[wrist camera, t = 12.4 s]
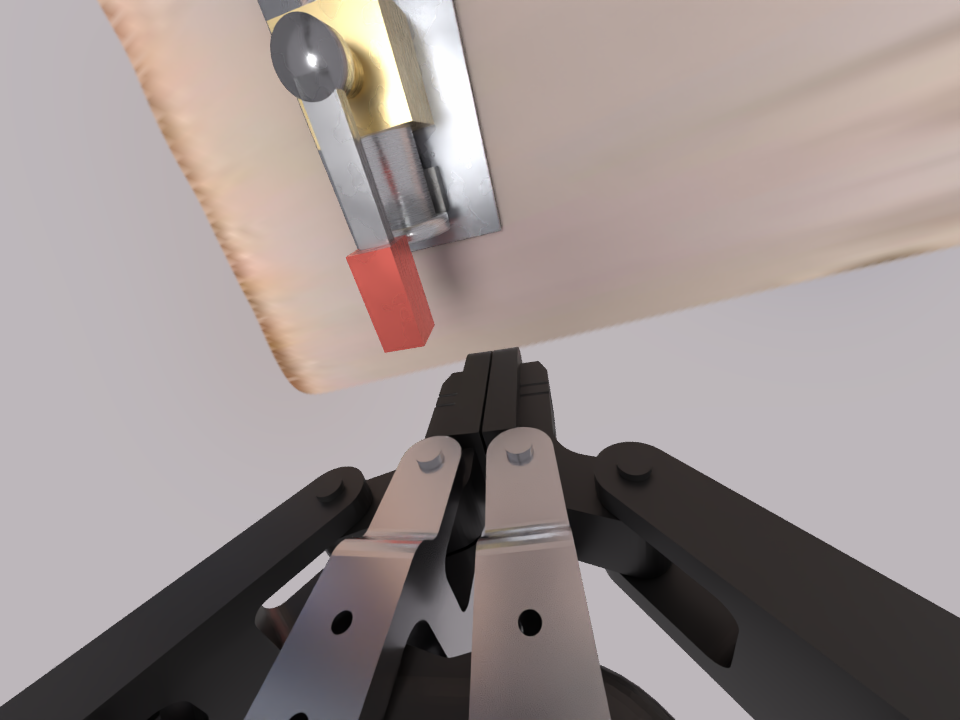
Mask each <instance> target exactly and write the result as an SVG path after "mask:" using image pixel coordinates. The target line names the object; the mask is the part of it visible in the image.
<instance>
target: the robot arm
mask: <svg viewBox="0 0 960 720" xmlns="http://www.w3.org/2000/svg"><path fill="white" fill-rule="evenodd" d="M554 421H555V420H554V411H553V405H552V399H551V393H550V386H549V380H548V374H547V370H546V368H545V367H544V366H543V365H542V364H541V363H540V362H539V361H536V362H529V363H522V360H521V355H520V350H519V347H514V348H508V349H501V350H494V351H488V352H481V353H474V354H468V355H467V358H466V362H465V366H464V370H463V372H457V373H453V374H451V376H450V377H449V378H448V379H447V380H446V381H445V382H444V383H443V385H442V388H441V391H440V394H439V398H438V400H437V403H436V408H435V409H434V412H433V415H432V418H431V421H430V424H429V428H428V430H427V434H426V436H425V439H423V440H421V441H419V442H417V443H416V444H414V445H413V446H412V447H410V448H409V449H408V450H407V451H406V452H405V454H404V455H403V457H402V458H401V461H400V463H399V465H398V467H397V469H396V470H394V471H392V472H389V473H386V474H383V475H380V476H377V477H374V478H372V479H369V480H365V478H364V476H363V474H362V472H361V471H360V470H359V469H357V468H354V467H340V468H337V469H333V470H331V471H328V472H327V473H325V474H323V475H321V476H320V477H318V478H317V479H315V480H314V481H313V482H311V483H310V484H309V485H307V486H306V487H304V488H303V489H302V490H300V491H299V492H297V493H296V494H295V495H293V496H292V497H291V498H289V499H288V500H286V501H285V502H284V503H282V504H281V505H279V506H278V507H277V508H275V509H274V510H273V511H271V512H270V513H268V514H267V515H266V516H264V517H263V518H262V519H260V520H259V521H258V522H256V523H255V524H253V525H252V526H250V527H249V528H248V529H246V530H245V531H243V532H242V533H241V534H239V535H238V536H237V537H235V538H234V539H232V540H231V541H230V542H228V543H227V544H225V545H224V546H223V547H221V548H220V549H219V550H217V551H216V552H215V553H213V554H212V555H210V556H209V557H207V558H206V559H205V560H203V561H202V562H201V563H199V564H198V565H196V566H195V567H194V568H192V569H191V570H190V571H188V572H187V573H185V574H184V575H182V576H181V577H180V578H178V579H177V580H176V581H174V582H173V583H171V584H170V585H169V586H167V587H166V588H164V589H163V590H162V591H160V592H159V593H158V594H156V595H155V596H153V597H152V598H151V599H149V600H148V601H146V602H145V603H144V604H142V605H141V606H140V607H138V608H137V609H136V610H134V611H133V612H131V613H130V614H128V615H127V616H126V617H124V618H123V619H122V620H120V621H119V622H117V623H116V624H115V625H113V626H112V627H110V628H109V629H108V630H106V631H105V632H103V633H102V634H101V635H99V636H98V637H97V638H95V639H94V640H92V641H91V642H90V643H88V644H87V645H85V646H84V647H83V648H81V649H80V650H79V651H77V652H76V653H74V654H73V655H72V656H70V657H69V658H68V659H66V660H65V661H63V662H62V663H61V664H59V665H58V666H56V667H55V668H54V669H52V670H51V671H49V672H48V673H47V674H45V675H44V676H43V677H41V678H40V679H38V680H37V681H36V682H34V683H33V684H31V685H30V686H29V687H27V688H26V689H25V690H23V691H22V692H20V693H19V694H18V695H16V696H15V697H13V698H12V699H11V700H9V701H8V702H6V703H5V704H4V705H2V706H1V707H0V720H675V719H674V718H673V717H672V716H671V715H670V714H669V713H668V712H667V711H666V710H665V709H664V708H663V707H662V706H661V705H660V704H659V703H658V702H657V701H656V700H655V699H653V698H652V697H651V696H650V695H649V694H647V693H646V692H645V691H644V690H642V689H641V688H640V687H639V686H637V685H636V684H634V683H633V682H631V681H629V680H628V679H626V678H625V677H623V676H622V675H620V674H618V673H616V672H614V671H612V670H610V669H608V668H606V667H604V666H601V665H600V664H599V660H598V655H597V650H596V645H595V640H594V635H593V630H592V626H591V621H590V616H589V611H588V607H587V602H586V597H585V592H584V587H583V582H582V578H581V573H580V568H579V563H578V561H582V562H585V563H588V564H592V565H595V566H598V567H602V568H605V569H606V571H607V573H608V575H609V576H610V578H611V579H612V580H613V581H614V582H615V583H616V584H617V585H618V586H619V587H620V588H621V589H622V590H623V591H624V592H625V593H626V594H627V595H628V596H629V597H630V598H631V599H632V600H633V601H634V602H635V603H636V604H637V605H639V607H640V608H641V609H642V610H644V612H645V613H646V614H647V615H648V616H650V617H651V618H652V619H653V620H654V621H655V622H656V623H657V624H658V625H659V626H660V627H661V628H662V629H663V630H664V631H665V632H666V633H667V634H668V635H669V636H670V637H671V638H672V639H673V640H674V641H675V642H676V643H677V644H678V645H679V646H680V647H681V648H682V649H683V650H684V651H685V652H686V653H687V654H688V655H689V656H690V657H691V658H692V659H693V660H694V661H695V662H696V663H697V664H698V665H699V666H700V667H701V668H702V669H703V670H705V671H706V672H707V673H708V674H709V675H710V676H711V677H712V678H713V679H714V680H715V681H716V682H717V683H718V684H719V685H720V686H721V687H722V688H723V689H724V690H725V691H726V692H727V693H728V694H729V695H730V696H731V697H732V698H733V699H734V700H735V701H736V702H737V703H738V704H739V705H740V706H741V707H742V708H743V709H744V710H745V711H746V712H747V713H748V714H749V715H750V716H752V717H753V719H755V720H960V618H959V617H957V616H955V615H954V614H952V613H950V612H948V611H946V610H945V609H943V608H941V607H939V606H937V605H936V604H934V603H932V602H930V601H928V600H927V599H925V598H923V597H921V596H920V595H918V594H916V593H914V592H913V591H911V590H909V589H907V588H905V587H904V586H902V585H900V584H898V583H896V582H895V581H893V580H891V579H889V578H887V577H886V576H884V575H882V574H880V573H879V572H877V571H875V570H873V569H871V568H870V567H868V566H866V565H864V564H863V563H861V562H859V561H857V560H856V559H854V558H852V557H850V556H849V555H847V554H845V553H843V552H841V551H839V550H838V549H836V548H834V547H832V546H831V545H829V544H827V543H825V542H824V541H822V540H820V539H818V538H816V537H815V536H813V535H811V534H809V533H808V532H806V531H804V530H802V529H800V528H799V527H797V526H795V525H793V524H792V523H790V522H788V521H786V520H784V519H783V518H781V517H779V516H777V515H776V514H774V513H772V512H770V511H768V510H766V509H765V508H763V507H761V506H759V505H758V504H756V503H754V502H752V501H751V500H749V499H747V498H745V497H743V496H742V495H740V494H738V493H736V492H735V491H733V490H731V489H729V488H727V487H726V486H724V485H722V484H720V483H718V482H717V481H715V480H713V479H711V478H710V477H708V476H706V475H704V474H703V473H700V472H699V471H697V470H695V469H694V468H692V467H690V466H688V465H686V464H685V463H683V462H681V461H679V460H678V459H676V458H674V457H672V456H670V455H669V454H667V453H665V452H663V451H662V450H660V449H658V448H655V447H654V446H651V445H648V444H644V443H639V442H623V443H617V444H614V445H611V446H609V447H607V448H605V449H604V450H603V451H601V452H600V453H599V455H598V456H597V457H594V456H588V455H582V454H578V453H575V452H572V451H570V450H568V449H566V448H565V447H563V446H562V445H561V444H560V443H559V442H558V441H557V438H556V429H555V422H554ZM324 551H326V552H327V554H328V555H329V557H330V558H329V560H328V562H327V564H326V566H325V568H324V569H322V570H321V571H320V572H319V573H318V574H317V575H316V576H314V577H313V578H312V579H311V580H310V581H309V582H308V583H307V584H305V585H304V586H303V587H302V588H301V589H300V590H299V591H297V592H296V593H295V594H294V595H293V596H292V597H290V598H289V599H288V600H287V601H286V602H285V603H283V604H282V605H280V606H278V607H275V608H271V609H268V608H264V607H263V606H262V604H263V603H264V602H265V601H266V600H267V599H268V598H269V597H271V596H272V595H273V594H274V593H275V592H277V591H278V590H279V589H280V588H281V587H283V586H284V585H285V584H286V583H287V582H288V581H289V580H291V579H292V578H293V577H294V576H295V575H297V574H298V573H299V572H300V571H301V570H303V569H304V568H305V567H306V566H307V565H308V564H310V563H311V562H312V561H313V560H314V559H315V558H317V557H318V556H319V555H320V554H321V553H323V552H324Z"/></svg>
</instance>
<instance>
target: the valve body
mask: <svg viewBox="0 0 960 720" xmlns="http://www.w3.org/2000/svg"><path fill="white" fill-rule="evenodd" d="M258 3H259V5H260V8H261V10H262V13H263V15H264V18H265V20H266V23H267V25H268V28H269V30H270V33H271V35H272V32H273V29H274V27H275V25H276V23H277V22H278V21H279V19H280V18H281V17H283V16H284V15H286V14H288V13H290V12H296V11H299V12H305V13H308V14H310V15H312V16H314V17H316V18H317V19H319V20H321V21H322V22H324V23H326V24H328V25H329V26H331V27H332V28H334V29H335V30H336V31H337V32H338V33H339V34H340V35H341V36H342V37H343V39H344V40H345V42H346V43H347V45H348V47H349V49H350V52H351V54H352V58H353V62H354V82H353V85H352V88H351V91H350V92H349V94H348V95H347V100H348V103H349V105H350V108H351V111H352V114H353V117H354V120H355V123H356V126H357V129H358V132H359V135H360V138H361V141H362V144H363V147H364V150H365V153H366V156H367V159H368V162H369V165H370V168H371V171H372V174H373V176H374V179H375V182H376V185H377V188H378V191H379V194H380V197H381V200H382V203H383V206H384V209H385V212H386V215H387V218H388V221H389V224H390V227H391V230H392V233H393V236H394V237H398V236H402V235H406V238H407V241H408V244H409V247H410V250H411V252H412V251H416V250H420V249H425V248H429V247H433V246H437V245H441V244H446V243H450V242H454V241H458V240H462V239H467V238H471V237H475V236H479V235H483V234H488V233H492V232H496V231H500V230H501V223H500V218H499V214H498V209H497V204H496V199H495V195H494V190H493V185H492V180H491V176H490V171H489V166H488V162H487V157H486V152H485V147H484V143H483V138H482V133H481V128H480V124H479V119H478V114H477V110H476V105H475V100H474V95H473V91H472V86H471V81H470V76H469V72H468V67H467V62H466V58H465V53H464V48H463V43H462V39H461V34H460V29H459V25H458V20H457V15H456V10H455V6H454V1H453V0H258ZM297 100H298V102H299V105H300V107H301V110H302V112H303V115H304V117H305V120H306V122H307V125H308V127H309V129H310V132H311V134H312V137H313V139H314V142H315V144H316V147H317V149H318V152H319V154H320V157H321V159H322V162H323V164H324V167H325V169H326V172H327V174H328V177H329V179H330V182H331V184H332V187H333V189H334V191H335V194H336V196H337V199H338V201H339V204H340V206H341V209H342V211H343V214H344V216H345V219H346V221H347V224H348V226H349V229H350V231H351V234H352V236H353V239H354V241H355V244H356V246H357V249H359V246H358V244H357V241H356V239H355V236H354V234H353V231H352V228H351V226H350V223H349V221H348V218H347V215H346V213H345V210H344V208H343V205H342V203H341V200H340V197H339V195H338V192H337V190H336V187H335V185H334V182H333V179H332V177H331V174H330V172H329V169H328V166H327V164H326V161H325V159H324V156H323V154H322V151H321V148H320V146H319V143H318V141H317V138H316V136H315V133H314V130H313V128H312V125H311V123H310V120H309V118H308V115H307V112H306V110H305V107H304V105H303V102H302V100H301V99H299V98H297Z"/></svg>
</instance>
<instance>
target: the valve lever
mask: <svg viewBox="0 0 960 720" xmlns="http://www.w3.org/2000/svg"><path fill="white" fill-rule="evenodd" d="M270 50H271V58H272V62H273V66H274V68H275V71H276V73H277V75H278V77H279V79H280V81H281V82H282V83H283V85H284V86H285V87H286V88H287V90H288V91H289V92H291V93H292V94H293V95H294V96H296V97H297V98H299V99H301V100H302V102H303V105H304V107H305V110H306V112H307V115H308V118H309V120H310V123H311V125H312V128H313V130H314V133H315V136H316V138H317V141H318V143H319V146H320V148H321V151H322V154H323V156H324V159H325V161H326V164H327V166H328V169H329V172H330V174H331V177H332V179H333V182H334V185H335V187H336V190H337V192H338V195H339V197H340V200H341V203H342V205H343V208H344V210H345V213H346V215H347V218H348V221H349V223H350V226H351V228H352V231H353V234H354V236H355V239H356V241H357V244H358V246H359V249H358V250H356V251H355V252H353V253H351V254H350V255H348V256H347V257H346V259H347V262H348V264H349V267H350V269H351V271H352V274H353V276H354V279H355V281H356V284H357V286H358V288H359V291H360V293H361V296H362V298H363V301H364V303H365V306H366V308H367V310H368V313H369V315H370V318H371V320H372V323H373V325H374V327H375V330H376V332H377V335H378V337H379V340H380V342H381V345H382V347H383V349H384V352H385V353H386V352H392V351H398V350H404V349H410V348H416V347H422V346H425V344H426V342H427V340H428V338H429V335H430V333H431V331H432V329H433V327H434V325H435V324H434V321H433V318H432V315H431V312H430V309H429V306H428V303H427V300H426V297H425V293H424V290H423V287H422V284H421V281H420V278H419V275H418V272H417V269H416V266H415V262H414V259H413V256H412V253H411V250H410V247H409V244H408V241H407V238H406V235H402V236H398V237H394V236H393V233H392V230H391V227H390V224H389V221H388V218H387V215H386V212H385V209H384V206H383V203H382V200H381V197H380V194H379V191H378V188H377V185H376V182H375V179H374V176H373V174H372V171H371V168H370V165H369V162H368V159H367V156H366V153H365V150H364V147H363V144H362V141H361V138H360V135H359V132H358V129H357V126H356V123H355V120H354V117H353V114H352V111H351V108H350V105H349V103H348V100H347V95H348V94H349V92H350V91H351V88H352V85H353V82H354V62H353V58H352V54H351V52H350V49H349V47H348V45H347V43H346V42H345V40H344V39H343V37H342V36H341V35H340V34H339V33H338V32H337V31H336V30H335V29H334V28H332V27H331V26H329V25H328V24H326V23H324V22H322V21H321V20H319V19H317V18H316V17H314V16H312V15H310V14H308V13H305V12H299V11H296V12H290V13H288V14H286V15H284V16H283V17H281V18H280V19H279V21H278V22H277V23H276V25H275V27H274V29H273V32H272V35H271V43H270Z"/></svg>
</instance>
